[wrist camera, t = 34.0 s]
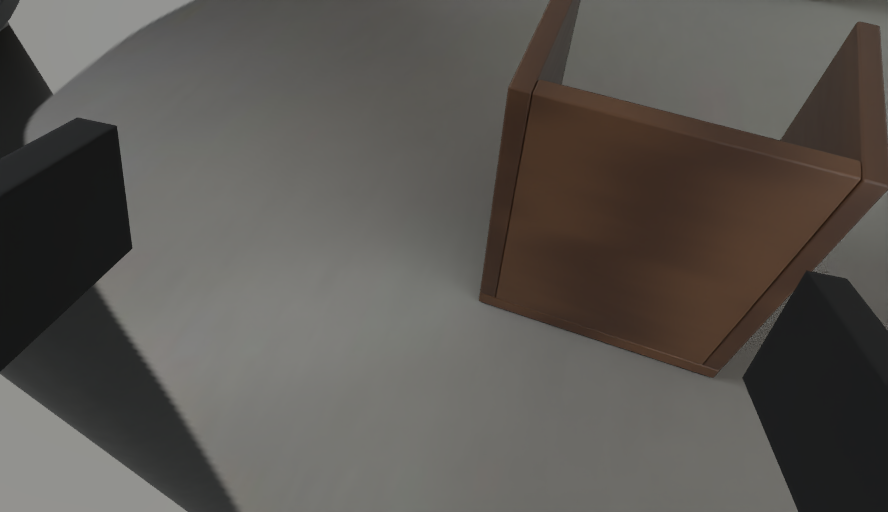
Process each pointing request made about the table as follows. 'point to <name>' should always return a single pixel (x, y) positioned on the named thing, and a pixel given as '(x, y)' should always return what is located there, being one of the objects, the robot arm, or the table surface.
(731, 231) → the crate
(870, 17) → the table surface
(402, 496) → the table surface
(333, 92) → the table surface
